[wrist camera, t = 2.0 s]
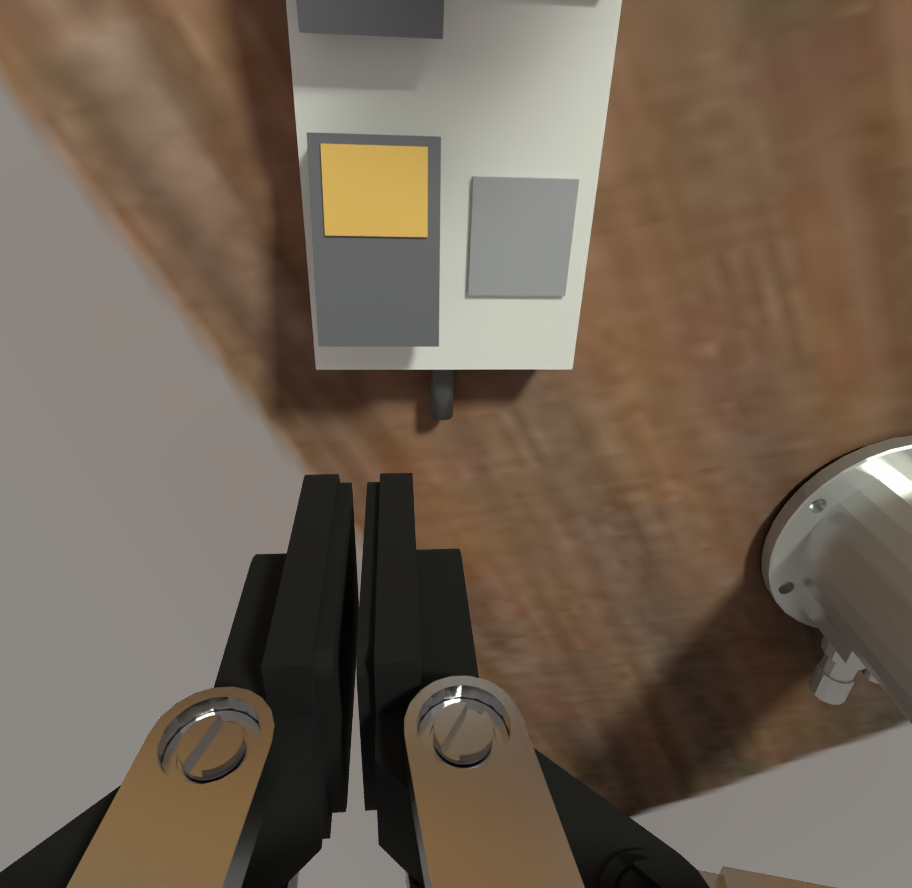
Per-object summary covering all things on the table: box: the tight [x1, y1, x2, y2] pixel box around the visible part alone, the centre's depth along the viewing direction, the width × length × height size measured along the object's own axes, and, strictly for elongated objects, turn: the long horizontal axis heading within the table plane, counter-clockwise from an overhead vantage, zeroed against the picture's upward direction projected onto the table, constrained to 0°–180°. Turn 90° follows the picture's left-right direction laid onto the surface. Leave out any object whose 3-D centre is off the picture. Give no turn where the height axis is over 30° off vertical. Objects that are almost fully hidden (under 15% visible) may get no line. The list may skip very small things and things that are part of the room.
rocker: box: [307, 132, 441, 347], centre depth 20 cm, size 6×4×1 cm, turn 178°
